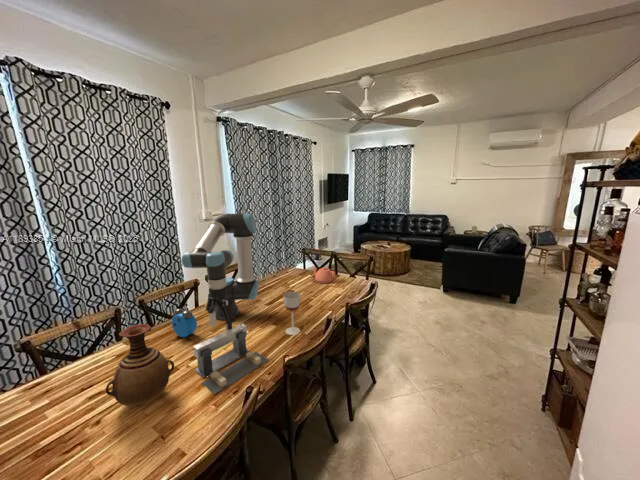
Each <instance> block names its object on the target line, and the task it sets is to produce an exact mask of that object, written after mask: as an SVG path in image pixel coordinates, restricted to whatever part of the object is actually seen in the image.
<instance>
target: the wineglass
mask: <svg viewBox="0 0 640 480" xmlns="http://www.w3.org/2000/svg"><path fill="white" fill-rule="evenodd" d="M282 296H283V297H282V298H283V304H284V307H285V308H286V309H287V311H290V312H291V327H288V328H286V329H285V333H286V334H287V335H290V336H294V335H295V336H296V335H298V334H300V332H301V330H300V329H301V328H299V327H295V326H294V311H297V310H298V309H299V307H300V304H301V298H302V297H301V293H300V292H298V291H287V292H285V293H283V295H282Z"/></svg>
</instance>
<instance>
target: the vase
mask: <svg viewBox="0 0 640 480" xmlns="http://www.w3.org/2000/svg"><path fill="white" fill-rule="evenodd" d="M151 331H152V327H151V325H149V324H147V323H146V324H145V323H140V324H133V325H130V326H128V327H126V328H125V329H122V330H121V331H120V332H119V334H118V336H119V337H120V338H127V340H128V342H129V352H128V353H127V354H126V355H124V357H122V358H121V360H120V361H119V363H118V365H117V366H116V369H115V372H114V375H113V377H112V378H111V379H110V380H109V381H108V382H107V384H106V387H105V393H106V394H107V395H108V396H112V397H113V398H114V399H115V401H116V402H117V403H118V404H120V405H123V406H125V407H136V406H141V405H145V404H148V403H149V402H151V401H153V400H155V399H157V398H158V397H159V396H160V395H161V394H163V392H164V391H165V389H166V388H167V385H168V383H169V381H170V376H171V375H172V373H173V371H174V370H175V363H174V361H173V360H172V359H169V358H166V357H165V356H164V354H163V353H162V352H161V351H159V350H158V349H156V348H154V347H147V345H146V339H145V335H146V333H147V332H151ZM169 364H170V365H171V368H170V367H169ZM111 385H112V390H110V391H109V388H110V386H111Z"/></svg>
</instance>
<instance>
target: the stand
mask: <svg viewBox="0 0 640 480" xmlns="http://www.w3.org/2000/svg"><path fill="white" fill-rule="evenodd" d="M246 338H247V335H246V332H243V333H241V334H239V335H238V339H237V340H235V341H233V342H232V346H233V348H232V349H231V350H229V351H226V352H225V353H223V354H221V355H219V356H217V357H215V358H214V359H213V357H212V355H213V352H212V349H211V348H210V349H208V350H206V351H204V352H202V357H201V358H199V359H198V358H197V357H196V359H197V360H196V361H197V367H196V368H195V369H194V372H195V371H196V373H197V375H199V377H201V376H202V377H203V378H204V379H206V378H208V377H210V376H211V373H213V372H215V371H217V372H220V371H221V370H223V368H226V367H227V366H230V365H231V364H232V363H234V362H237V361H238V360H239V359H240V360H241V359H242V358H243V357H245V356H246V353H248V352H250V350H249V349H247V342H246ZM209 375H210V376H209ZM207 376H208V377H207ZM202 377H201V378H202ZM205 377H206V378H205ZM203 378H202V379H203Z"/></svg>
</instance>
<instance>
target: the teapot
mask: <svg viewBox="0 0 640 480" xmlns="http://www.w3.org/2000/svg"><path fill="white" fill-rule="evenodd" d="M312 268H313V274H314V276H315V281H316V282H318V283H320V284H330V283H331V282H332V281H333V280H334V277H335V276H336V271H334V270H333V271H331V269H330V268H327V266H324V267H321V268H319V269H318V270H317V268H316V266H314V265H312ZM329 282H330V283H329Z"/></svg>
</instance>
